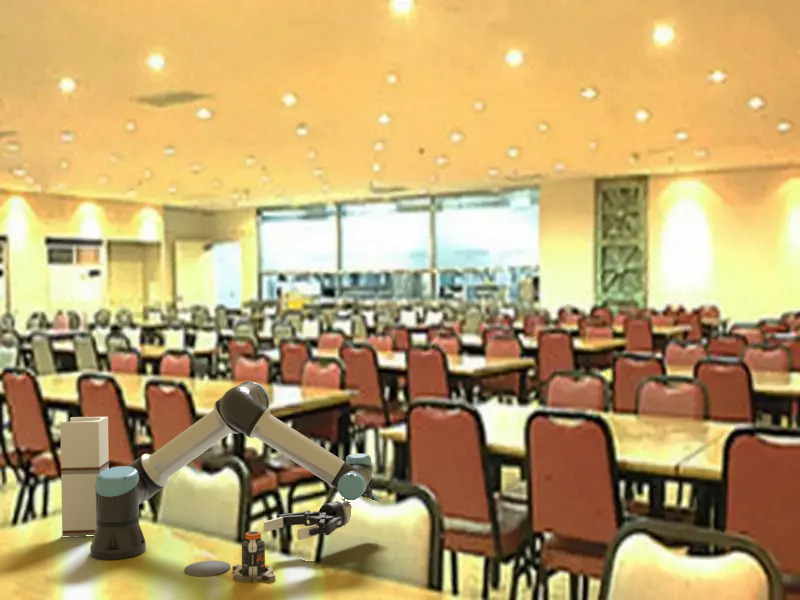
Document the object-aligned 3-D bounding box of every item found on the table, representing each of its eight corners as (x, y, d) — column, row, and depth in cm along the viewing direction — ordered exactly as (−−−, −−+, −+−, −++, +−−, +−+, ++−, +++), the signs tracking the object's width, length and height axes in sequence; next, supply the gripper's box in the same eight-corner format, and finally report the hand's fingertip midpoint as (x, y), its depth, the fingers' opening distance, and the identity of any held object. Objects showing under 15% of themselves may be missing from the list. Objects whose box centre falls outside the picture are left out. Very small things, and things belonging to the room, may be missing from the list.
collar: (220, 575, 237) (220, 569, 237) (249, 565, 244) (249, 560, 244) (257, 586, 227) (257, 581, 227) (286, 576, 235) (286, 571, 235)
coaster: (175, 570, 241) (175, 568, 241) (211, 559, 250) (211, 558, 250) (203, 579, 233) (203, 577, 233) (239, 568, 242) (239, 566, 242)
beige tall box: (109, 527, 286) (107, 416, 286) (100, 536, 276) (98, 421, 275) (73, 528, 286) (71, 417, 285) (62, 537, 275) (60, 422, 274)
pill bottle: (260, 580, 232) (259, 536, 232) (238, 579, 233) (237, 535, 233) (268, 573, 238) (267, 530, 238) (247, 571, 239) (246, 529, 239)
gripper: (306, 495, 267) (250, 510, 251) (368, 507, 251) (313, 524, 235) (306, 521, 267) (251, 537, 251) (369, 534, 251) (314, 552, 235)
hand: (281, 531), depth 243 cm, fingers open, 13 cm apart
